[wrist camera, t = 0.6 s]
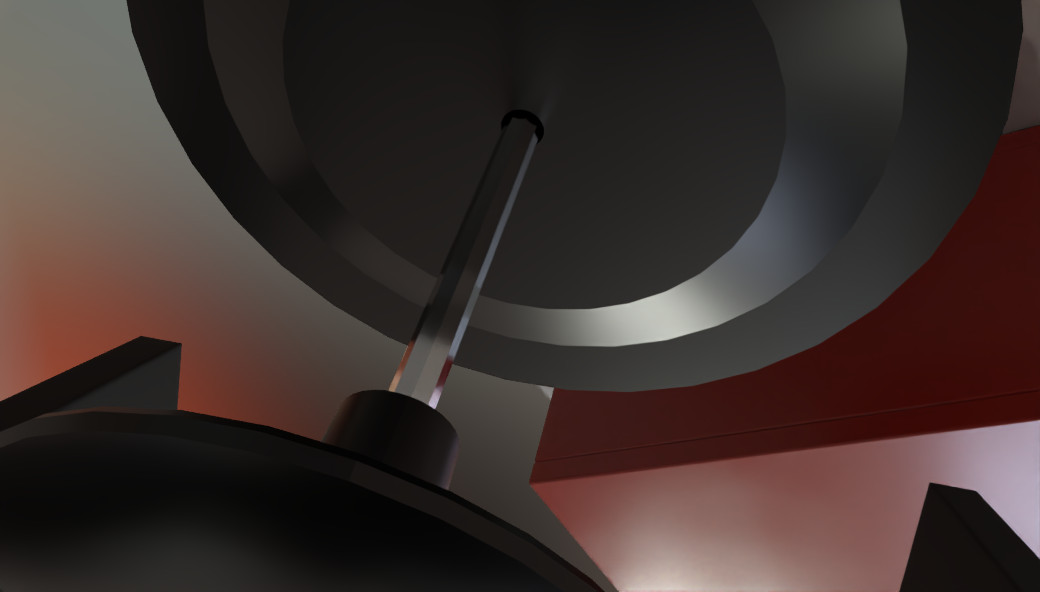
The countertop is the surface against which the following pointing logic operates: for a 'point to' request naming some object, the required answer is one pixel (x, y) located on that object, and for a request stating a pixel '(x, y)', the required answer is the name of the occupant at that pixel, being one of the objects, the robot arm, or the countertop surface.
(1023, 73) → the countertop surface
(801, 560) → the red drawer cabinet
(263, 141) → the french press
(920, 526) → the robot arm
